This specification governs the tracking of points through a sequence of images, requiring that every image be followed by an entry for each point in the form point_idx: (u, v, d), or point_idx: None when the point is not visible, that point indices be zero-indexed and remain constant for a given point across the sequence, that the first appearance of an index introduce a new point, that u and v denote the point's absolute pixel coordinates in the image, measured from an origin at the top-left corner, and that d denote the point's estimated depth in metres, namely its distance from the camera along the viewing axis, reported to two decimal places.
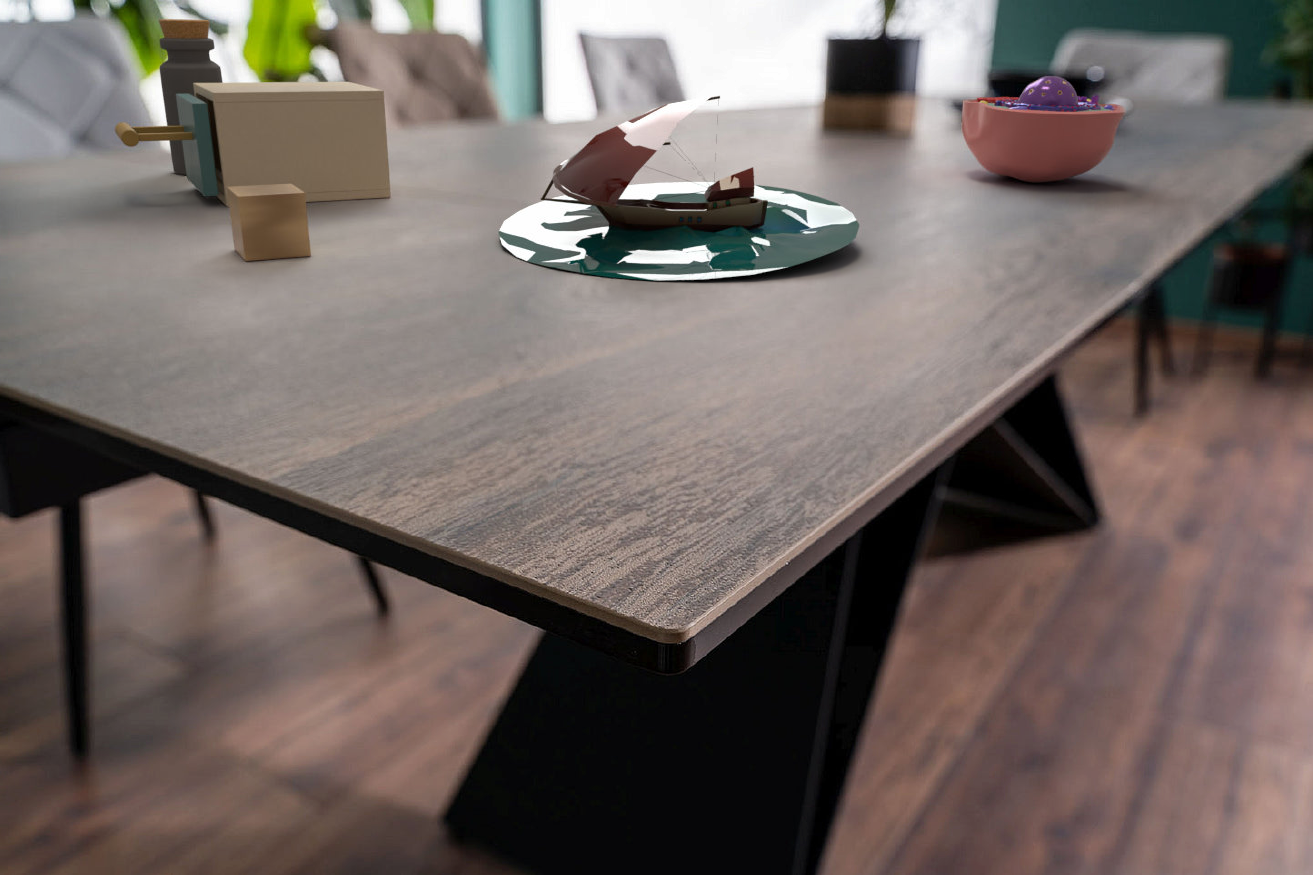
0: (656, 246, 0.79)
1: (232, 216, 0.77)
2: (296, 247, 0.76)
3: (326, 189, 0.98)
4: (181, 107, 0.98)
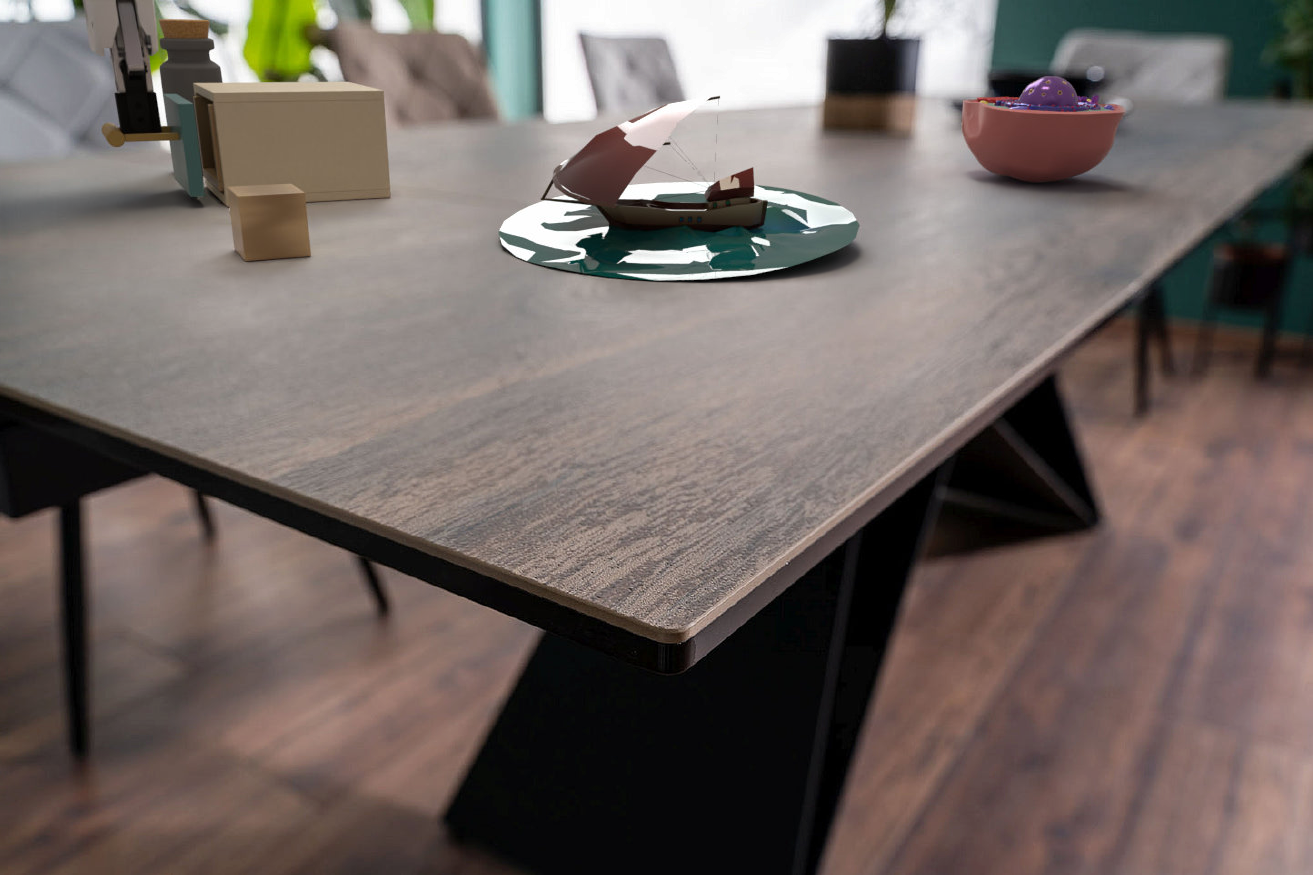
0: (656, 246, 0.79)
1: (232, 216, 0.77)
2: (296, 247, 0.76)
3: (326, 189, 0.98)
4: (168, 107, 0.98)
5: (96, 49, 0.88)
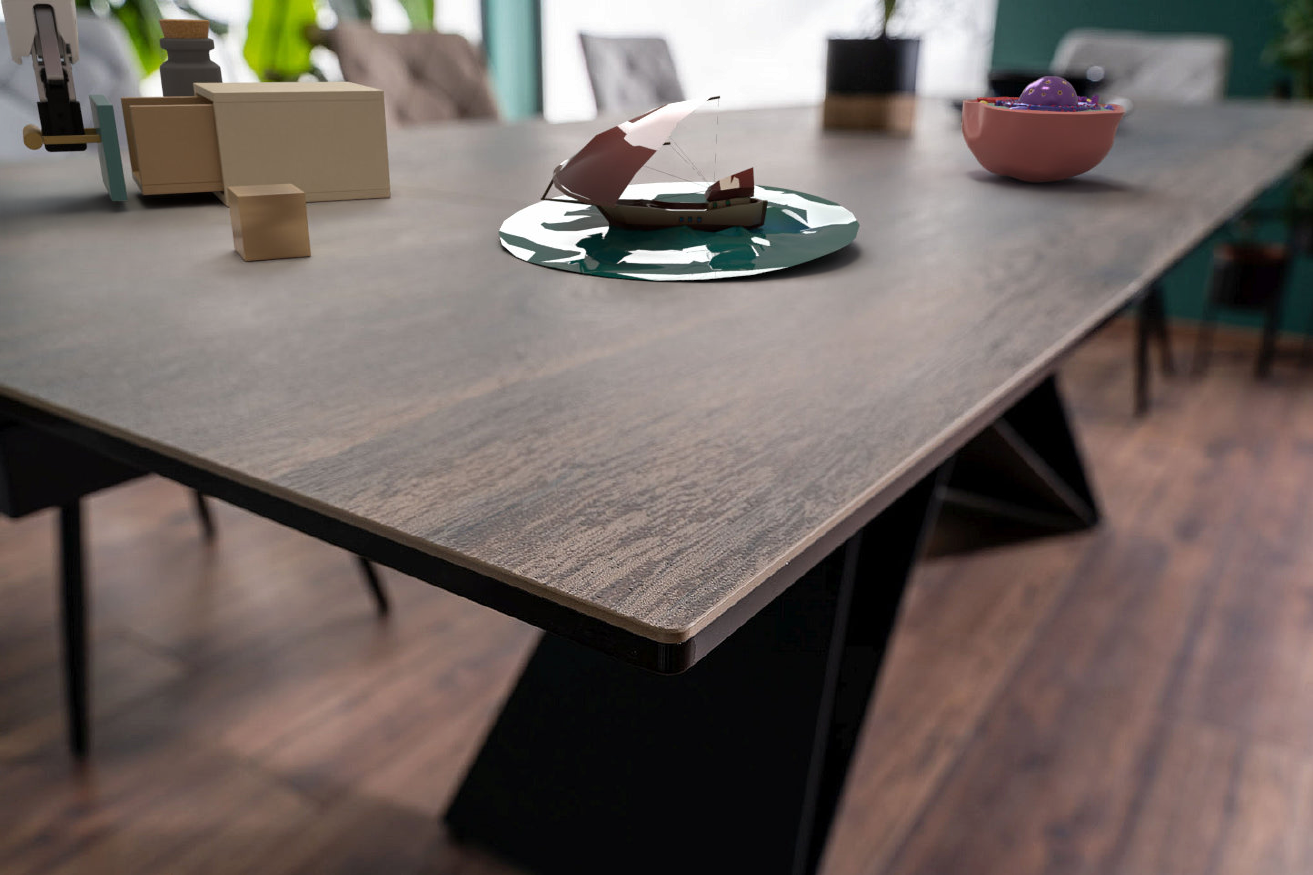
0: (656, 246, 0.79)
1: (232, 216, 0.77)
2: (296, 247, 0.76)
3: (326, 189, 0.98)
4: (92, 109, 0.95)
5: (13, 57, 0.85)
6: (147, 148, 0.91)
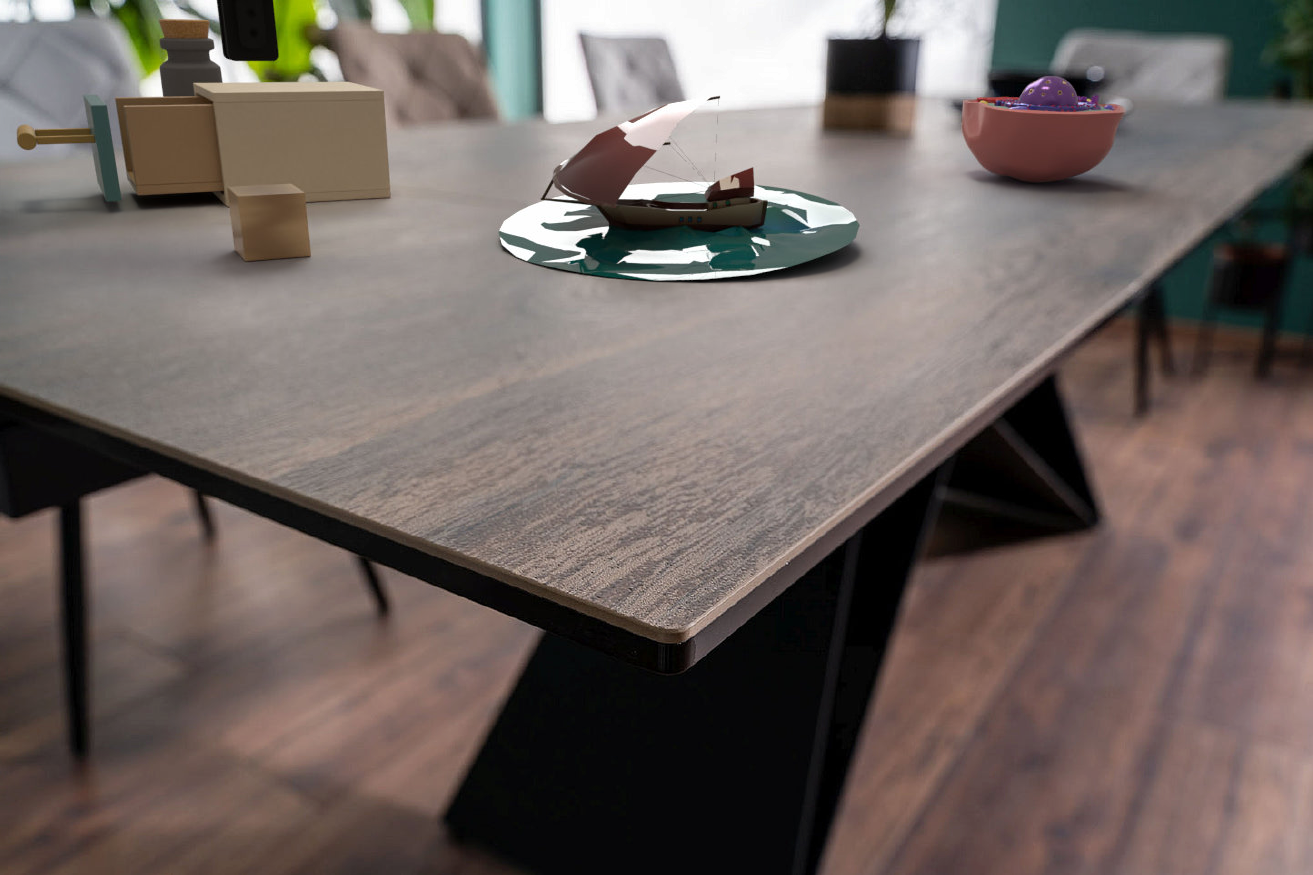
0: (656, 246, 0.79)
1: (232, 216, 0.77)
2: (296, 247, 0.76)
3: (326, 189, 0.98)
4: None
5: None
6: (141, 148, 0.91)
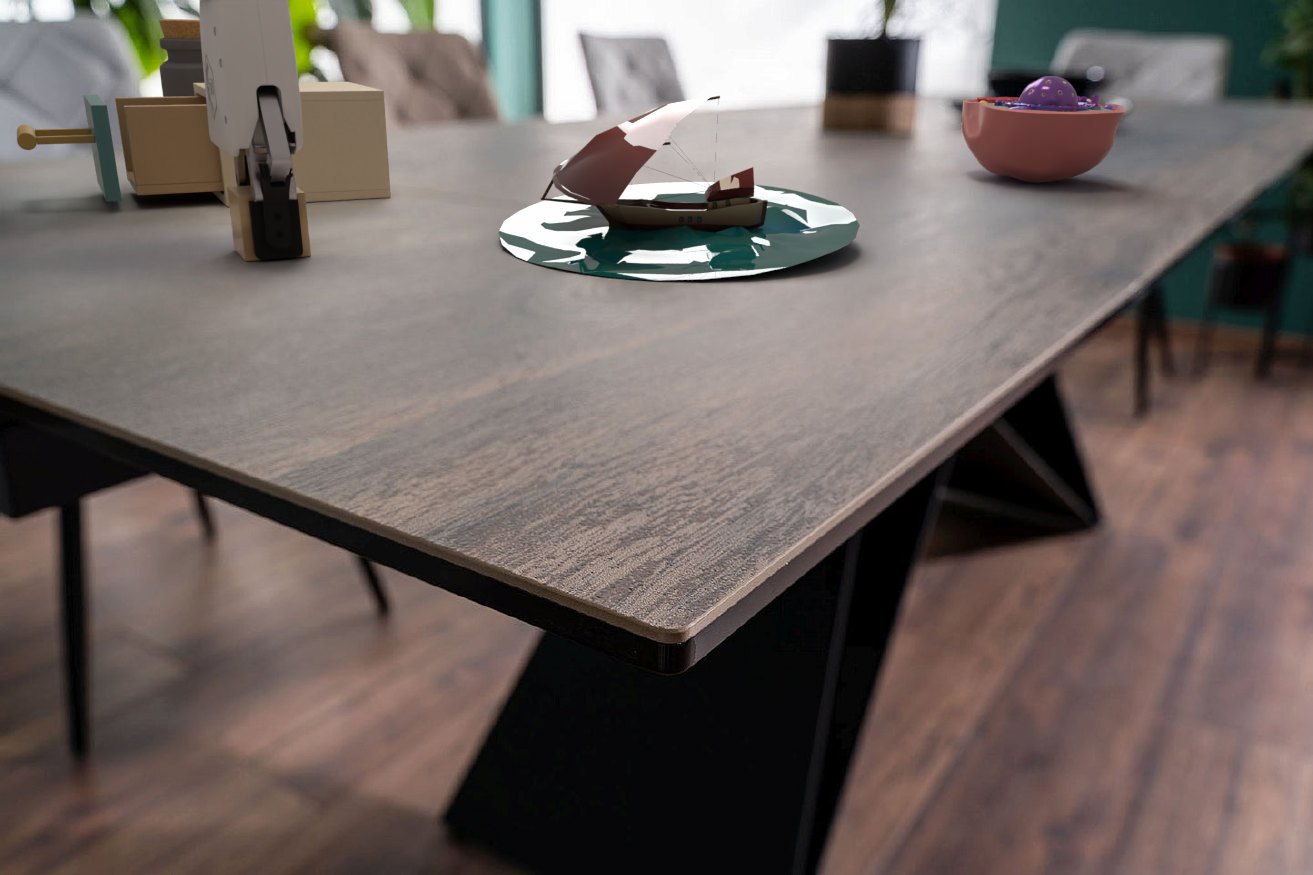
0: (656, 246, 0.79)
1: (232, 216, 0.77)
2: None
3: (326, 189, 0.98)
4: None
5: (229, 149, 0.70)
6: (141, 148, 0.91)
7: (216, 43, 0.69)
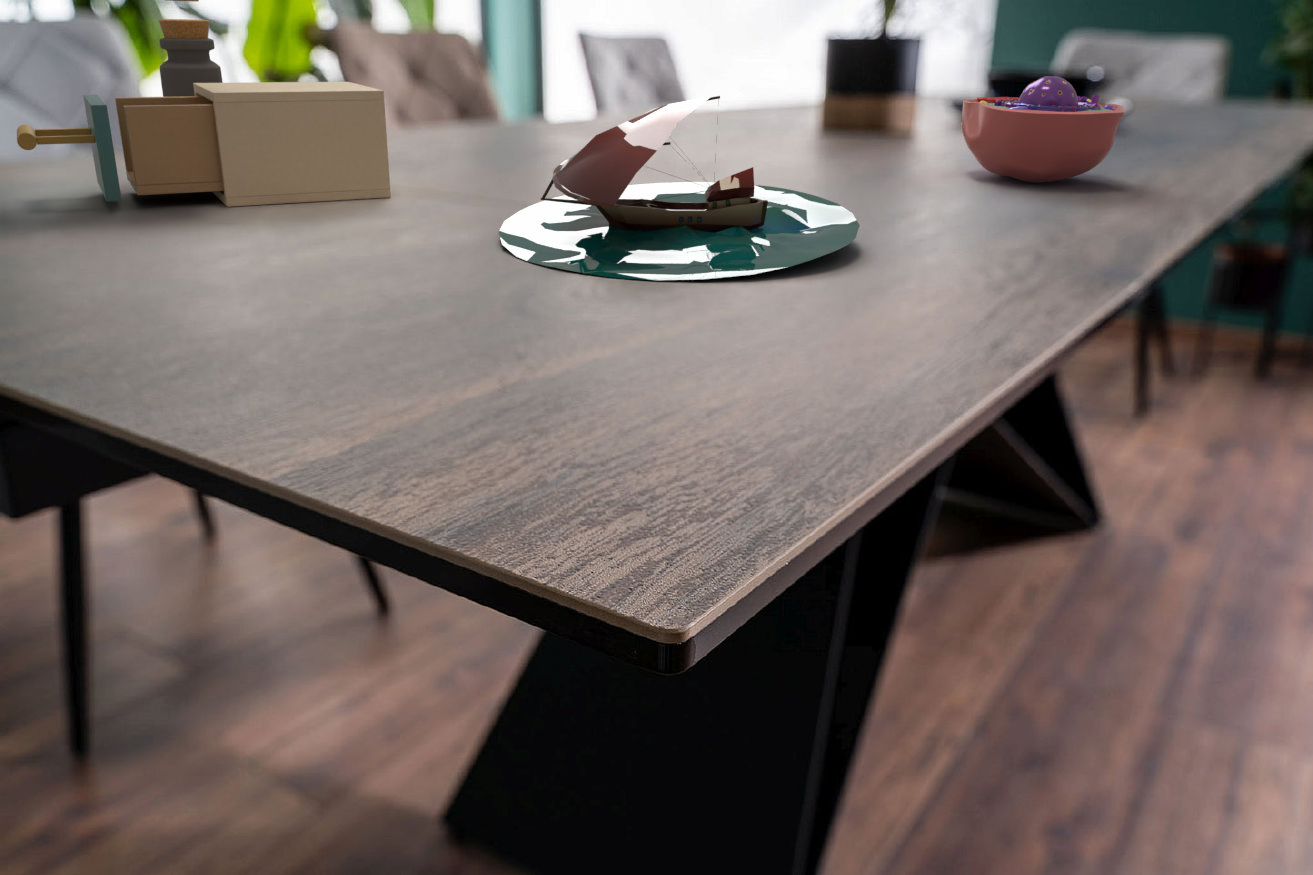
0: (656, 246, 0.79)
1: None
2: None
3: (326, 189, 0.98)
4: None
5: None
6: (141, 148, 0.91)
7: None
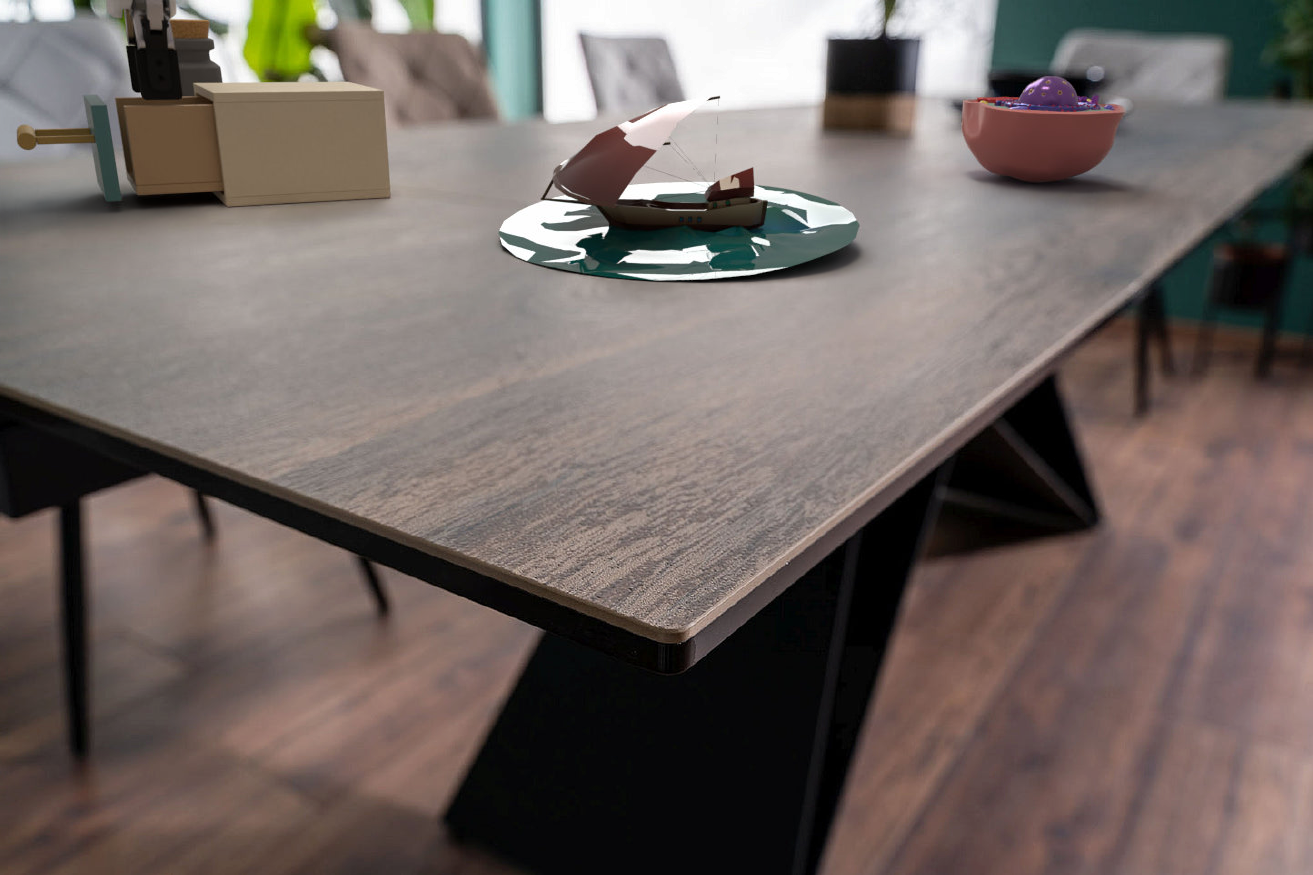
0: (656, 246, 0.79)
1: None
2: None
3: (326, 189, 0.98)
4: None
5: (114, 10, 0.88)
6: (141, 148, 0.91)
7: None
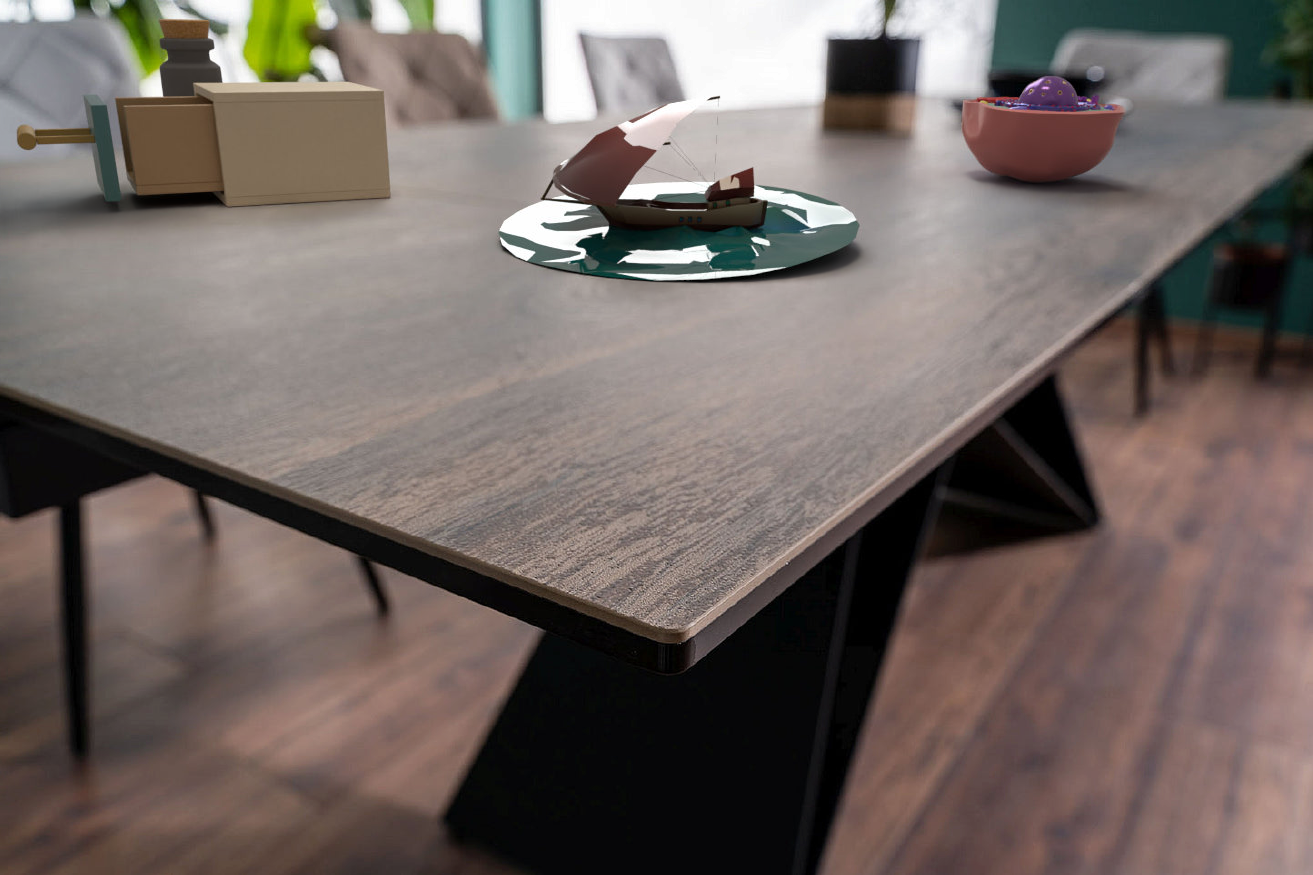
0: (656, 245, 0.79)
1: None
2: None
3: (326, 189, 0.98)
4: None
5: None
6: (141, 148, 0.91)
7: None
